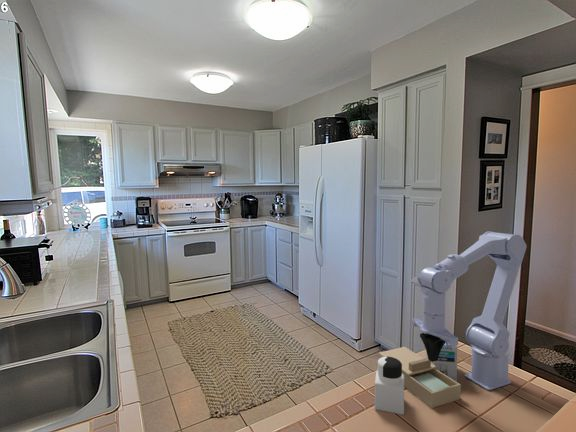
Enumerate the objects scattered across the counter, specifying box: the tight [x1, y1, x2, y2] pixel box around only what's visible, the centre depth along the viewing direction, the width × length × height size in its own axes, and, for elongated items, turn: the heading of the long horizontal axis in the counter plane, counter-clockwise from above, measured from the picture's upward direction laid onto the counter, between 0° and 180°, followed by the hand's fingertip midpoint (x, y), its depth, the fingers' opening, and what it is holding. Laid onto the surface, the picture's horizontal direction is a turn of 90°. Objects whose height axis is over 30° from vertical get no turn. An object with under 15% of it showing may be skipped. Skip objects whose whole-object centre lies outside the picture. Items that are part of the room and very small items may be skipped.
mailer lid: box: [378, 346, 436, 376], centre depth 99 cm, size 10×13×3 cm
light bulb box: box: [425, 342, 458, 382], centre depth 100 cm, size 11×7×11 cm, turn 168°
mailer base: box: [402, 369, 462, 409], centre depth 91 cm, size 10×13×4 cm
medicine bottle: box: [374, 356, 405, 416], centre depth 85 cm, size 7×7×12 cm
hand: (433, 360), depth 89 cm, fingers closed
